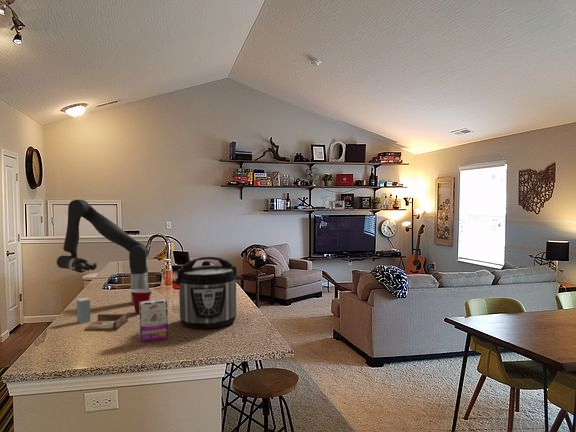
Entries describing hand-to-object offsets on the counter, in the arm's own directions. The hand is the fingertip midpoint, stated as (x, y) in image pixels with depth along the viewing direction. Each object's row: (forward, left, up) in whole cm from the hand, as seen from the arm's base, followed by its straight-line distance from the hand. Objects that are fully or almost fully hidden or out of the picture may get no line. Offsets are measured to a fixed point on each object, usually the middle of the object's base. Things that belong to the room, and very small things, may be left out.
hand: (91, 268), depth 221 cm
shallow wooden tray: (+3, +25, -24) cm, 35 cm away
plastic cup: (-20, +14, -24) cm, 34 cm away
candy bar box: (-2, +59, -24) cm, 64 cm away
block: (+8, +10, -24) cm, 27 cm away
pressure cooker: (-33, +55, -24) cm, 69 cm away
